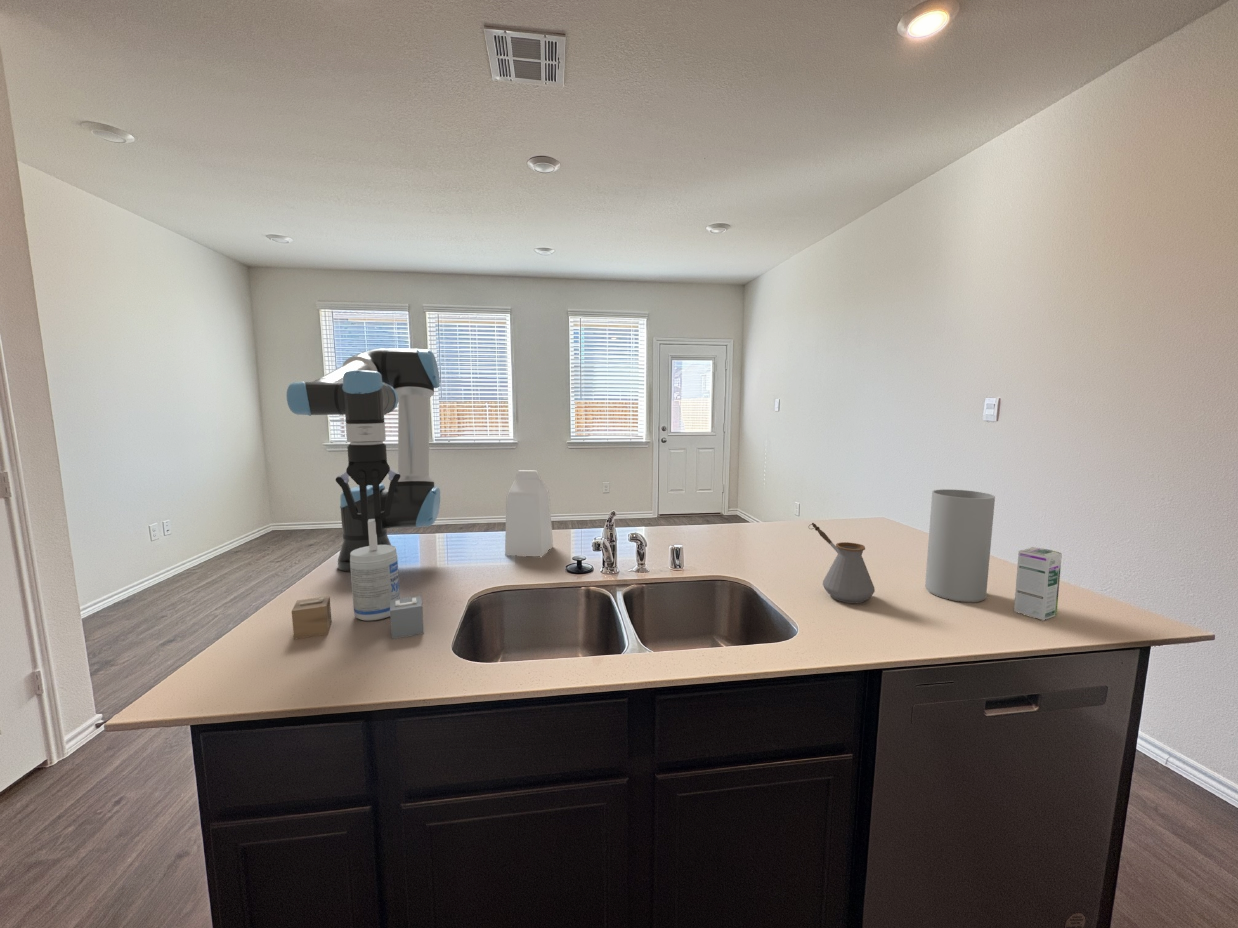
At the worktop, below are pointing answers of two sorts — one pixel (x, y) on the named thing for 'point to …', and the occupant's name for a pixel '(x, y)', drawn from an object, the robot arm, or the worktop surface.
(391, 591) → the supplement tub
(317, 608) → the walnut marked block
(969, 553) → the cylinder vase
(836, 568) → the coffee pot
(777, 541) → the worktop surface
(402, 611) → the slate grey marked block
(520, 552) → the milk
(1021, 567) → the syrup box
